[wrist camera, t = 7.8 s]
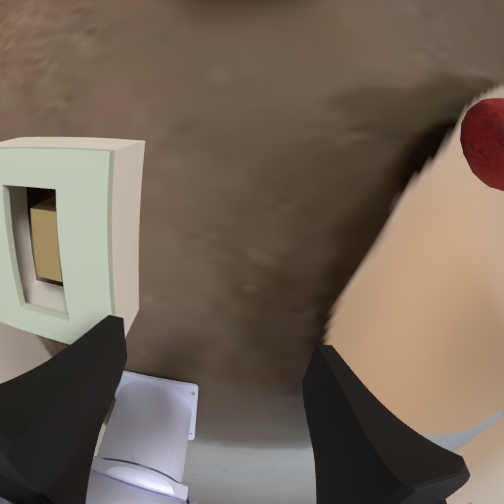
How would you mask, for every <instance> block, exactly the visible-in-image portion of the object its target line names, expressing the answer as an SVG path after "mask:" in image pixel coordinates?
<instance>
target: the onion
mask: <svg viewBox="0 0 504 504" xmlns="http://www.w3.org/2000/svg"><path fill="white" fill-rule="evenodd" d="M460 141H461V145H462V149H463V154H464V156H465V158H466V160H467V162H468V164H469V166H470V168H471V170H472V172H473V173H474V174H475V175H476V176H477V177H478V178H479V179H480V180H481V181H482V182H483V183H485V184H486V185H488V186H489V187H492V188H495V189H499V190H502V191H504V99H503V98H495V99H494V98H492V99H484V100H481V101H480V102H478V103H477V104H475V105H474V106H473V107H471V108H470V109H469V110H468V111H467V113H466V115H465V117H464V119H463V121H462V123H461V137H460Z"/></svg>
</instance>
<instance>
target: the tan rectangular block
mask: <svg viewBox="0 0 504 504" xmlns="http://www.w3.org/2000/svg"><path fill="white" fill-rule="evenodd" d="M31 224H32V235H33V245H34V254H35V262H36V269H37V276H39V277H43V278H47V279H51V280H56V281H60V282H63V278H62V270H61V262H60V253H59V242H58V229H57V210H56V195H54V196H52V197H50V198H48V199H46V200H45V201H43V202H41V203H39V204H37V205H36V206H34V207H32V208H31Z"/></svg>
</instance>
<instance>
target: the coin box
mask: <svg viewBox="0 0 504 504" xmlns="http://www.w3.org/2000/svg"><path fill="white" fill-rule="evenodd" d="M144 149H145V141H140V140H126V139H109V138H85V137H20V138H16V139H11V140H7V141H3V142H0V322H2V323H5V324H8V325H10V326H13V327H16V328H19V329H22V330H25V331H28V332H31V333H34V334H37V335H40V336H43V337H46V338H49V339H53V340H56V341H59V342H63V343H66V344H70V345H71V344H72V343H73V342H75V341H76V340H77V339H79V338H80V337H81V336H82V335H84V334H85V333H86V332H87V331H89V330H90V329H91V328H92V327H94V326H95V325H96V324H97V323H99V322H100V321H101V320H102V319H104V318H105V317H106V316H108V315H112V316H117V317H122V318H124V330H125V337H126V335H127V333H128V331H129V329H130V327H131V325H132V323H133V320H134V318H135V316H136V314H137V312H138V310H139V274H138V264H139V219H140V199H141V184H142V171H143V159H144ZM27 187H37V188H48V189H56V210H57V229H58V242H59V253H60V262H61V270H62V278H63V285H64V287H63V286H58V285H54V284H50V283H45V282H41V281H37V280H36V275H35V269H34V263H33V256H32V248H31V240H30V231H29V220H28V206H27Z"/></svg>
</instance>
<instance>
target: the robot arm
mask: <svg viewBox="0 0 504 504" xmlns="http://www.w3.org/2000/svg"><path fill="white" fill-rule="evenodd" d="M126 360H127V350H126V341H125V330H124V318H122V317H117V316H112V315H108V316H106V317H105V318H104V319H102V320H101V321H100V322H99V323H97V324H96V325H95V326H94V327H92V328H91V329H90V330H89V331H87V332H86V333H85V334H84V335H82V336H81V337H80V338H79V339H77V340H76V341H75V342H73V343H72V344H71V345H69V346H68V347H67V348H65V349H64V350H62V351H61V352H60V353H58V354H57V355H55V356H54V357H52V358H51V359H49V360H48V361H46V362H45V363H43V364H41V365H39V366H38V367H36V368H34V369H33V370H30V371H28V372H26V373H24V374H22V375H20V376H18V377H15V378H14V379H11V380H9V381H7V382H4V383H1V384H0V504H197V503H196V501H195V500H194V499H193V498H192V497H187V492H188V486H185V485H182V482H183V474H184V466H185V458H186V451H187V444H188V440H194V438H195V425H196V412H197V399H198V386H197V385H196V384H193V383H186V382H180V381H174V380H168V379H163V378H157V377H152V376H147V375H142V374H138V373H133V372H128V371H124V367H125V364H126ZM302 382H303V399H304V407H305V412H306V417H307V422H308V427H309V432H310V437H311V442H312V447H313V452H314V459H315V473H316V497H317V504H447V503H446V500H445V499H446V498H447V497H449V496H450V495H451V494H453V493H454V492H455V491H457V490H458V489H459V488H461V487H462V486H463V485H464V484H465V483H466V482H467V481H468V479H469V477H470V473H469V471H468V468H467V466H466V464H465V462H464V459H463V457H461V456H459V455H457V454H455V453H453V452H451V451H449V450H446V449H444V448H442V447H440V446H438V445H437V444H435V443H433V442H431V441H430V440H428V439H426V438H425V437H423V436H422V435H420V434H418V433H417V432H416V431H414V430H413V429H411V428H410V427H409V426H407V425H406V424H404V423H403V422H402V421H401V420H400V419H398V418H397V417H396V416H395V415H394V414H393V413H391V412H390V411H389V410H388V409H387V408H386V407H385V406H384V405H383V404H382V403H381V402H379V401H378V399H377V398H376V397H375V396H374V395H373V394H372V393H371V392H370V391H369V390H368V389H367V388H366V386H365V385H364V384H363V383H362V382H361V381H360V380H359V378H358V377H357V376H356V375H355V374H354V372H353V371H352V370H351V369H350V367H349V366H348V365H347V364H346V362H345V361H344V360H343V359H342V357H341V356H340V355H339V354H338V352H337V351H336V350H335V349H334V348H333V346H332V345H318V344H317V345H316V348H315V350H314V353H313V355H312V358H311V361H310V363H309V366H308V368H307V371H306V373H305V376H304V378H303V381H302ZM114 395H115V399H116V402H115V405H114V408H113V410H112V413H111V416H110V419H109V422H108V424H107V427H106V430H105V433H104V437H103V439H102V442H101V445H100V448H99V451H98V454H97V457H96V456H95V457H94V459H93V456H94V451H95V447H96V443H97V440H98V436H99V432H100V429H101V426H102V424H103V421H104V419H105V416H106V414H107V411H108V409H109V407H110V404H111V402H112V400H113V397H114ZM92 461H93V462H92ZM469 504H474V503H469Z"/></svg>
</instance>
